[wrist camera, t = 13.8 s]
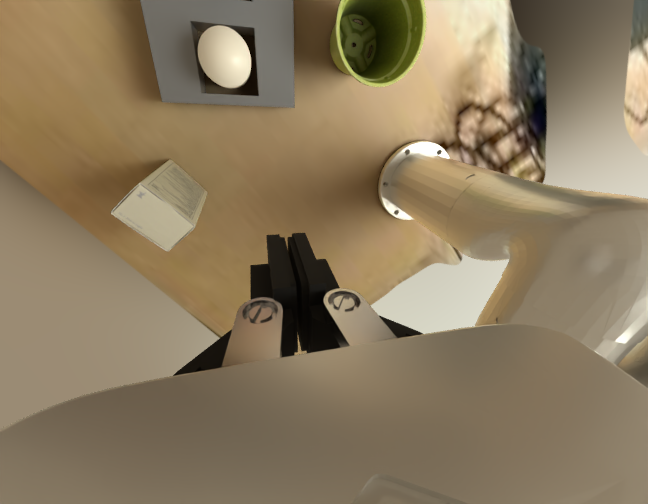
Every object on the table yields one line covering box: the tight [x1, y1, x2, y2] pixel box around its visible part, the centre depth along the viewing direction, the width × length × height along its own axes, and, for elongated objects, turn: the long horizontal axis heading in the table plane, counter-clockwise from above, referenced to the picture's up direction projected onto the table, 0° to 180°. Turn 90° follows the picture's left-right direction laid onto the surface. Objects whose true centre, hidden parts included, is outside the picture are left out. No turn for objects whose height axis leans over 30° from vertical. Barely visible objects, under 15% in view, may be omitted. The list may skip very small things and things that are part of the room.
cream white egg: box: [198, 25, 251, 89], centre depth 27 cm, size 5×5×4 cm
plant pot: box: [330, 0, 426, 87], centre depth 30 cm, size 9×9×9 cm
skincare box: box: [111, 159, 208, 251], centre depth 31 cm, size 6×4×12 cm
